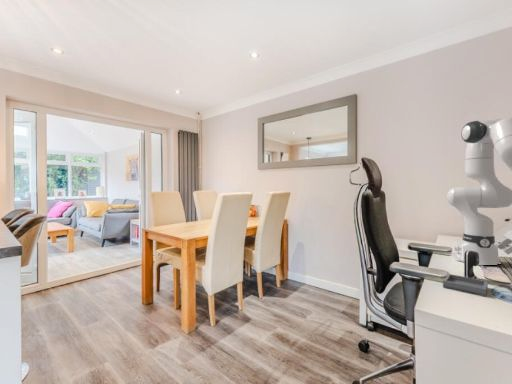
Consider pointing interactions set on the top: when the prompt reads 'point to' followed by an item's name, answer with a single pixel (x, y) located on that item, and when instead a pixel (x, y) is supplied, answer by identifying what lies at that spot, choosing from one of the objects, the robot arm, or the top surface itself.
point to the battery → (470, 263)
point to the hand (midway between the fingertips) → (501, 250)
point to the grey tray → (466, 284)
